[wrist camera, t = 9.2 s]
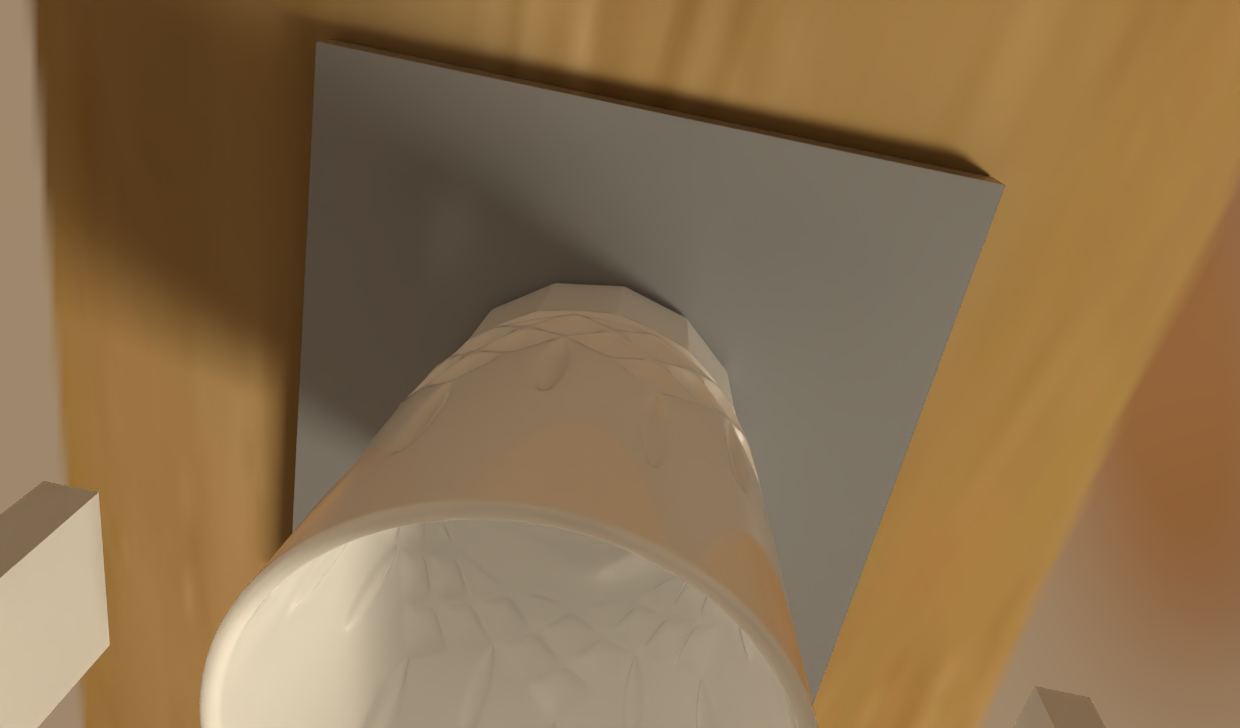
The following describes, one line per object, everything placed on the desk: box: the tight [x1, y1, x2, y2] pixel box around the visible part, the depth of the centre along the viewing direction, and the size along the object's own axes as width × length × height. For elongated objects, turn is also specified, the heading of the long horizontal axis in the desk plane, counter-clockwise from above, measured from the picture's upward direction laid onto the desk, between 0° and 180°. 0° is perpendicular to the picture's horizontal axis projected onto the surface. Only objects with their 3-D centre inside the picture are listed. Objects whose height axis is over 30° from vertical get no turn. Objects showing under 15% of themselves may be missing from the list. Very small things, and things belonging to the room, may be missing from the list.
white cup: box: [200, 283, 818, 728], centre depth 16 cm, size 8×8×10 cm
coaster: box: [292, 39, 1005, 704], centre depth 21 cm, size 14×14×1 cm
